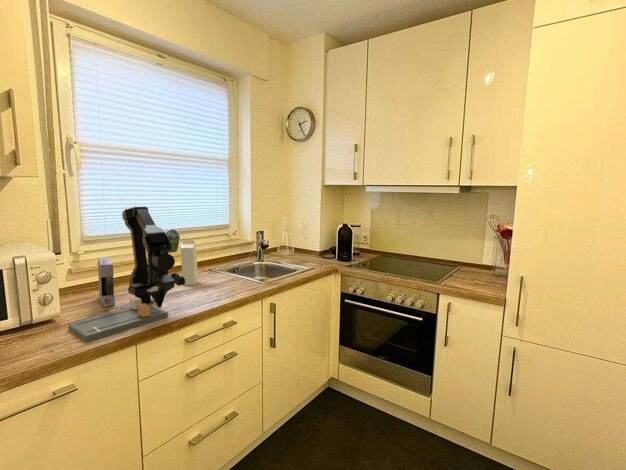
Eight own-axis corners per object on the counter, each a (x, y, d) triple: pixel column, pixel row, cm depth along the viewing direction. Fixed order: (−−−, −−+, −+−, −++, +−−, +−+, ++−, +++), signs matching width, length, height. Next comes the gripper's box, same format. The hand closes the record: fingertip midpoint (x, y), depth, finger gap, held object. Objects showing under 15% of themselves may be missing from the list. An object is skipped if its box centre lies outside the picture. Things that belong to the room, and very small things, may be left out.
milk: (194, 285, 165) (192, 241, 162) (182, 285, 164) (180, 241, 161) (197, 281, 171) (196, 239, 168) (185, 282, 170) (183, 239, 167)
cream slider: (130, 307, 125) (129, 298, 125) (136, 305, 127) (136, 296, 127) (135, 309, 123) (134, 300, 123) (141, 307, 125) (141, 298, 124)
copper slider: (138, 314, 118) (137, 304, 118) (144, 312, 120) (144, 303, 119) (143, 316, 116) (142, 307, 115) (150, 314, 117) (149, 305, 117)
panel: (68, 329, 111) (68, 323, 111) (146, 308, 131) (146, 303, 131) (86, 342, 101) (85, 335, 101) (167, 317, 122) (167, 311, 121)
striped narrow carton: (116, 306, 134) (113, 263, 132) (101, 309, 131) (98, 265, 129) (112, 294, 149) (109, 256, 147) (99, 296, 146) (95, 257, 144)
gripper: (141, 274, 108) (144, 320, 110) (192, 264, 122) (194, 305, 124) (125, 269, 115) (129, 312, 117) (176, 260, 129) (178, 299, 131)
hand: (159, 307), depth 122 cm, fingers closed
